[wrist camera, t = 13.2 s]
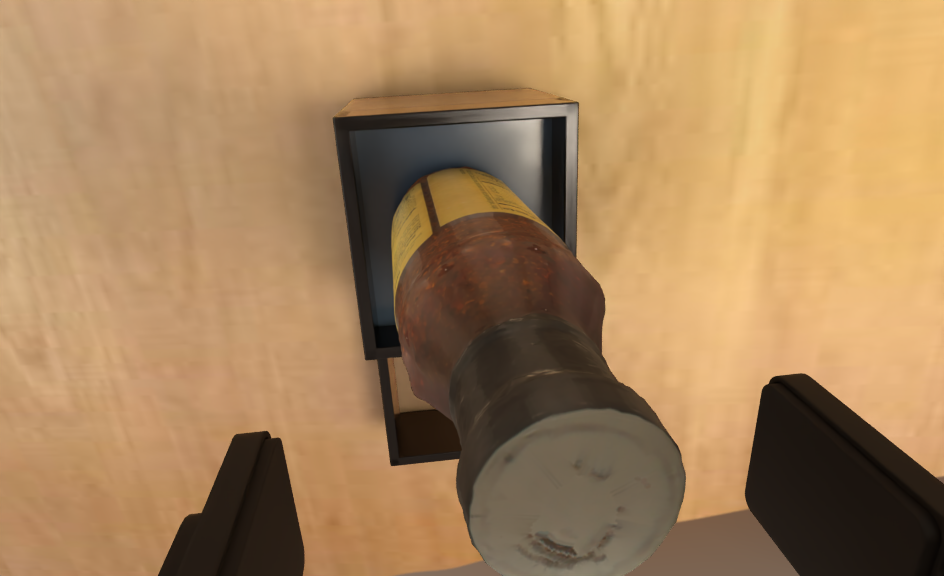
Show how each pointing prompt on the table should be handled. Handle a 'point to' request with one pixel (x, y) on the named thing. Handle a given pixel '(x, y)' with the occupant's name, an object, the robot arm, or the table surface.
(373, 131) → the bottle rack
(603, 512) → the sauce bottle
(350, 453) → the table surface
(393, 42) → the table surface
